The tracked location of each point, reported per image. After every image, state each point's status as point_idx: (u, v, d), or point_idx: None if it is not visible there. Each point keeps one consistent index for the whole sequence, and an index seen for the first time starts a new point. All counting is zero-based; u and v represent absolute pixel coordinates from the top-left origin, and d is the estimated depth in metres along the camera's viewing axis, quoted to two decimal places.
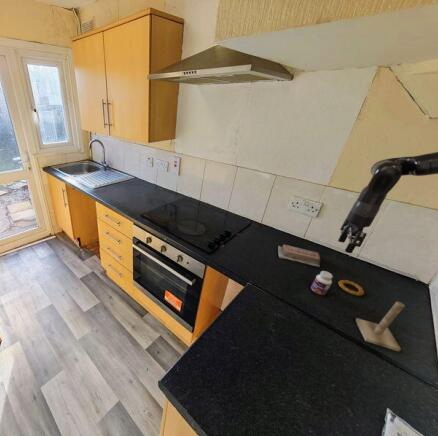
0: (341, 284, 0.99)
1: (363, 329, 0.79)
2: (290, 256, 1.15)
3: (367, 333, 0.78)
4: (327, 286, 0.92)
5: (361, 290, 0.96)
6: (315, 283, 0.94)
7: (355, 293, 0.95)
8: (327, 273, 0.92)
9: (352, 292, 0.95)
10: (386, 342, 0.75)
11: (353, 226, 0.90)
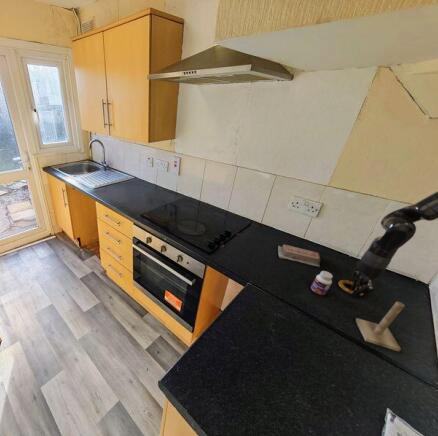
0: (341, 284, 0.99)
1: (363, 329, 0.79)
2: (290, 256, 1.15)
3: (367, 333, 0.78)
4: (327, 286, 0.92)
5: None
6: (315, 283, 0.94)
7: None
8: (327, 273, 0.92)
9: (352, 292, 0.95)
10: (386, 342, 0.75)
11: (363, 275, 0.90)
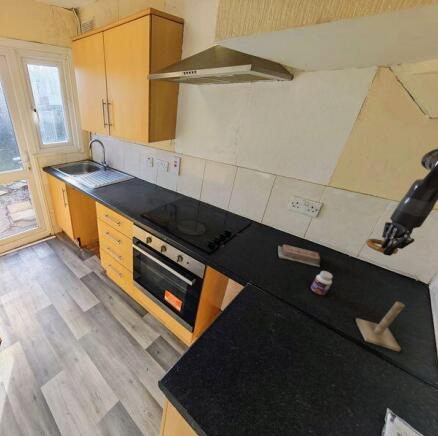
0: (370, 242, 0.86)
1: (363, 329, 0.79)
2: (290, 256, 1.15)
3: (367, 333, 0.78)
4: (327, 286, 0.92)
5: None
6: (315, 283, 0.94)
7: None
8: (327, 273, 0.92)
9: (384, 249, 0.82)
10: (386, 342, 0.75)
11: (399, 227, 0.78)
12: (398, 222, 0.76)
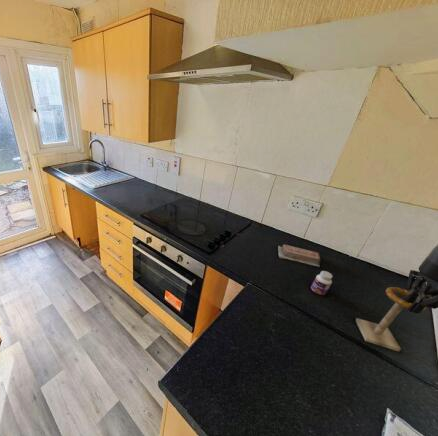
0: (391, 293, 0.71)
1: (363, 329, 0.79)
2: (290, 256, 1.15)
3: (367, 333, 0.78)
4: (327, 286, 0.92)
5: None
6: (315, 283, 0.94)
7: None
8: (327, 273, 0.92)
9: (410, 305, 0.67)
10: (386, 342, 0.75)
11: (431, 281, 0.62)
12: (430, 277, 0.61)
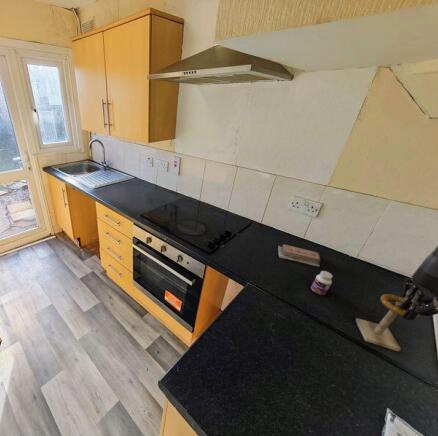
0: (386, 300, 0.72)
1: (363, 329, 0.79)
2: (290, 256, 1.15)
3: (367, 333, 0.78)
4: (327, 286, 0.92)
5: None
6: (315, 283, 0.94)
7: None
8: (327, 273, 0.92)
9: (403, 312, 0.68)
10: (386, 342, 0.75)
11: (424, 290, 0.64)
12: (423, 285, 0.62)
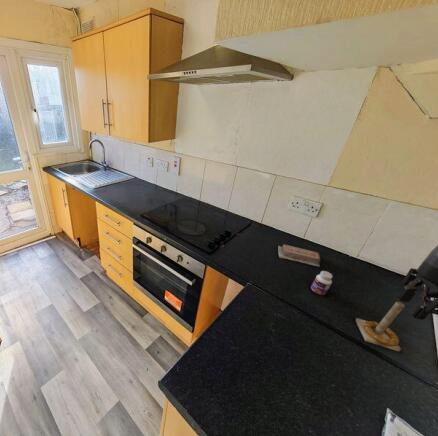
0: (368, 328, 0.77)
1: (363, 329, 0.79)
2: (290, 256, 1.15)
3: (367, 333, 0.78)
4: (327, 286, 0.92)
5: (395, 338, 0.74)
6: (315, 283, 0.94)
7: (388, 342, 0.73)
8: (327, 273, 0.92)
9: (383, 341, 0.74)
10: None
11: (429, 284, 0.63)
12: (428, 279, 0.61)
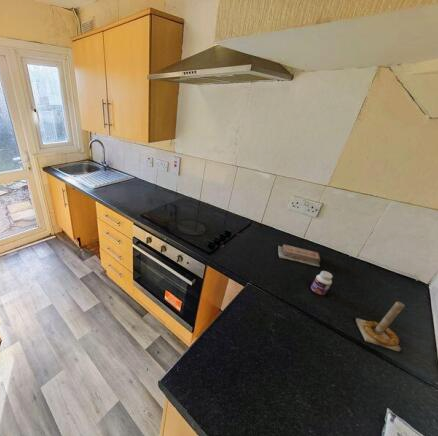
0: (368, 328, 0.77)
1: (363, 329, 0.79)
2: (290, 256, 1.15)
3: (367, 333, 0.78)
4: (327, 286, 0.92)
5: (395, 338, 0.74)
6: (315, 283, 0.94)
7: (388, 342, 0.73)
8: (327, 273, 0.92)
9: (383, 341, 0.74)
10: None
11: None
12: None
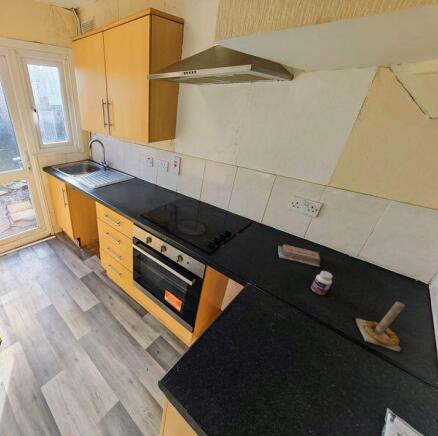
0: (368, 328, 0.77)
1: (363, 329, 0.79)
2: (290, 256, 1.15)
3: (367, 333, 0.78)
4: (327, 286, 0.92)
5: (395, 338, 0.74)
6: (315, 283, 0.94)
7: (388, 342, 0.73)
8: (327, 273, 0.92)
9: (383, 341, 0.74)
10: None
11: None
12: None
